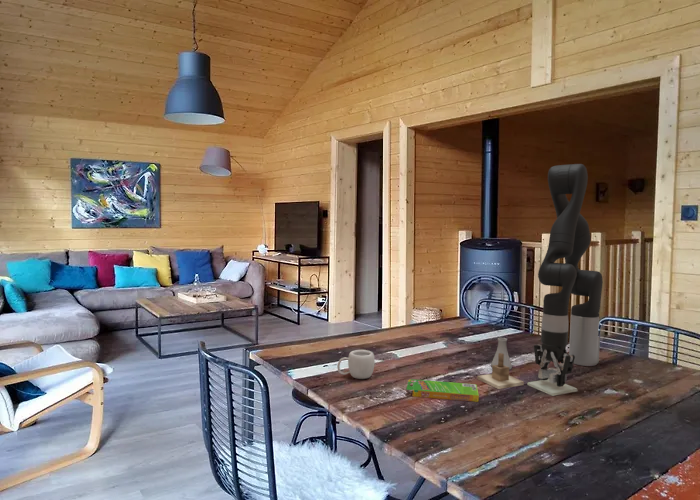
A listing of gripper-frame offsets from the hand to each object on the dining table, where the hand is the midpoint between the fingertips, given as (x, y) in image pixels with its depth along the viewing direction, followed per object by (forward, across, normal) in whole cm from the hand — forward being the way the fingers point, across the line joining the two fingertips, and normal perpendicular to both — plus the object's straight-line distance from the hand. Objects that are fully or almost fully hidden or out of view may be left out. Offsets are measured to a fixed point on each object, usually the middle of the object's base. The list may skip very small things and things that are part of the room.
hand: (552, 382), depth 155 cm
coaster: (+2, 0, 0) cm, 2 cm away
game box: (+2, +10, +34) cm, 35 cm away
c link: (-1, 0, 0) cm, 1 cm away
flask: (+2, +22, 0) cm, 23 cm away
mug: (+2, +32, +51) cm, 61 cm away
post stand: (+2, +10, +11) cm, 15 cm away
